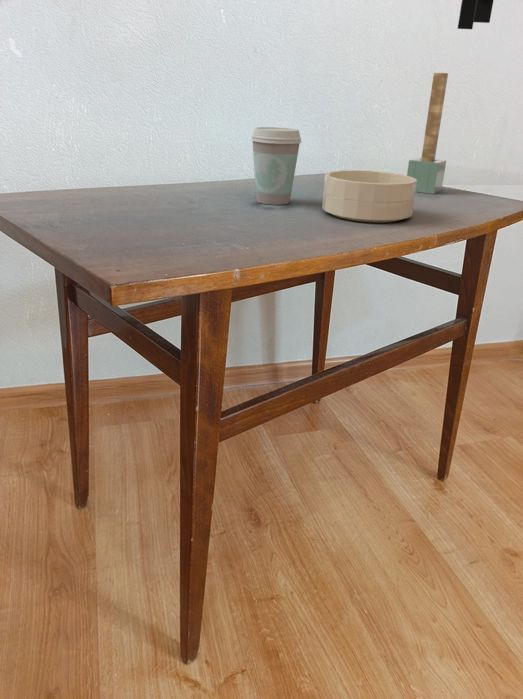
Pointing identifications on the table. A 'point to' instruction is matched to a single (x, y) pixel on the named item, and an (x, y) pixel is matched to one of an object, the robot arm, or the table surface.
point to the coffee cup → (275, 163)
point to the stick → (434, 116)
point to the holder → (427, 174)
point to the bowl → (369, 195)
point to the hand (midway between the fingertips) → (472, 26)
